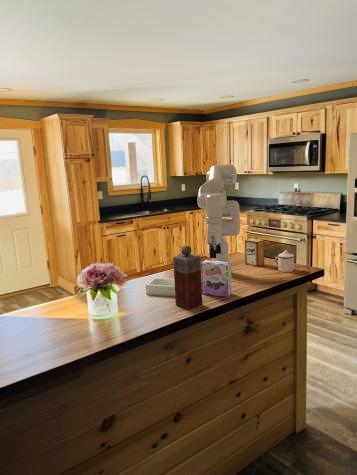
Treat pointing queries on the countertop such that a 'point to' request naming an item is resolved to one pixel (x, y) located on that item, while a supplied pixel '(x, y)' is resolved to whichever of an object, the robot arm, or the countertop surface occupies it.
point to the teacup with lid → (285, 262)
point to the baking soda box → (254, 252)
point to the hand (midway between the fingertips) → (215, 255)
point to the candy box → (216, 278)
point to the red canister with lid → (187, 279)
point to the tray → (161, 287)
